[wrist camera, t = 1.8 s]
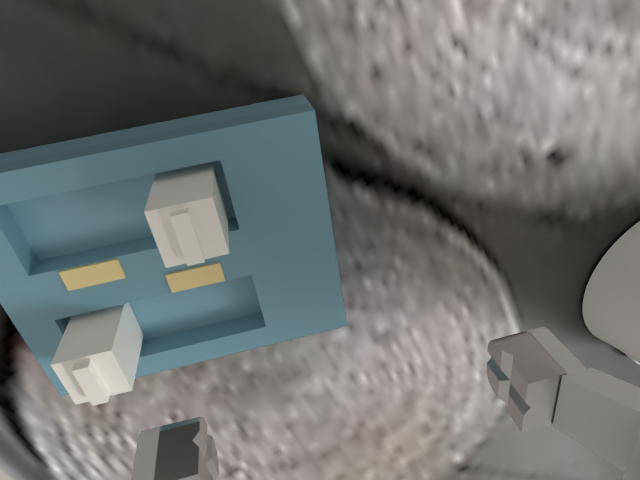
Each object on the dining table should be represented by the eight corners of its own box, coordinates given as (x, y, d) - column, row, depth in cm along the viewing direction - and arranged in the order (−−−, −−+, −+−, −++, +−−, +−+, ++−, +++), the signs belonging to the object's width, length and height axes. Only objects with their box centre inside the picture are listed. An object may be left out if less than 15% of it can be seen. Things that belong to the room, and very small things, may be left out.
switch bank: (303, 94, 25) (315, 110, 22) (335, 293, 33) (347, 327, 29) (-39, 161, 24) (-77, 189, 21) (75, 355, 31) (59, 397, 28)
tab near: (213, 161, 24) (212, 202, 20) (227, 212, 26) (229, 260, 21) (155, 173, 24) (141, 218, 19) (173, 223, 25) (164, 275, 21)
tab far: (126, 297, 27) (109, 358, 23) (143, 334, 29) (130, 399, 24) (74, 309, 27) (46, 373, 22) (94, 346, 28) (72, 413, 24)
